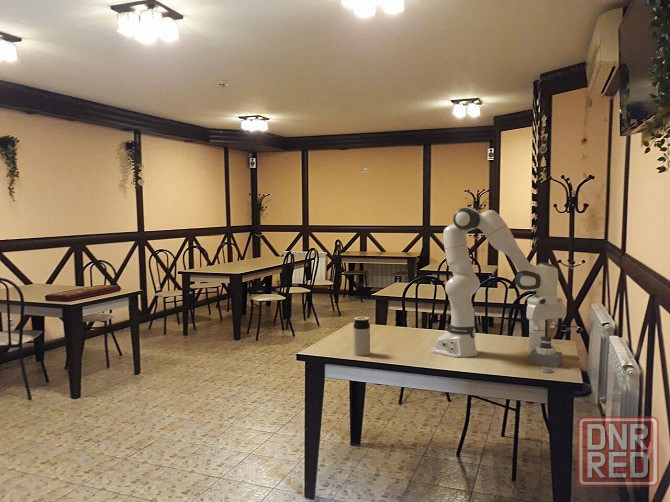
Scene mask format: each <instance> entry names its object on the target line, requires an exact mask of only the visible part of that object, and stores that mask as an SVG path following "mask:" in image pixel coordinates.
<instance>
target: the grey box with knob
mask: <svg viewBox="0 0 670 502" xmlns="http://www.w3.org/2000/svg"><path fill="white" fill-rule="evenodd" d="M562 363H563V352H562V351H557V348H556V346H553V345H551V349H544V348H541V345H537V346H536V348H535V349H534V350H533V351H531V352H530V355H529V365H537V366H544V367H550V368H557V369H558V368H559V367H560V366H561V364H562Z"/></svg>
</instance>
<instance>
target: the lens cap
mask: <svg viewBox="0 0 670 502" xmlns="http://www.w3.org/2000/svg"><path fill="white" fill-rule="evenodd" d="M539 372H540V373H543V374H552V373H553V370H552V369H550V368H546V367H545V368H543V367H542V368H539Z"/></svg>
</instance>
